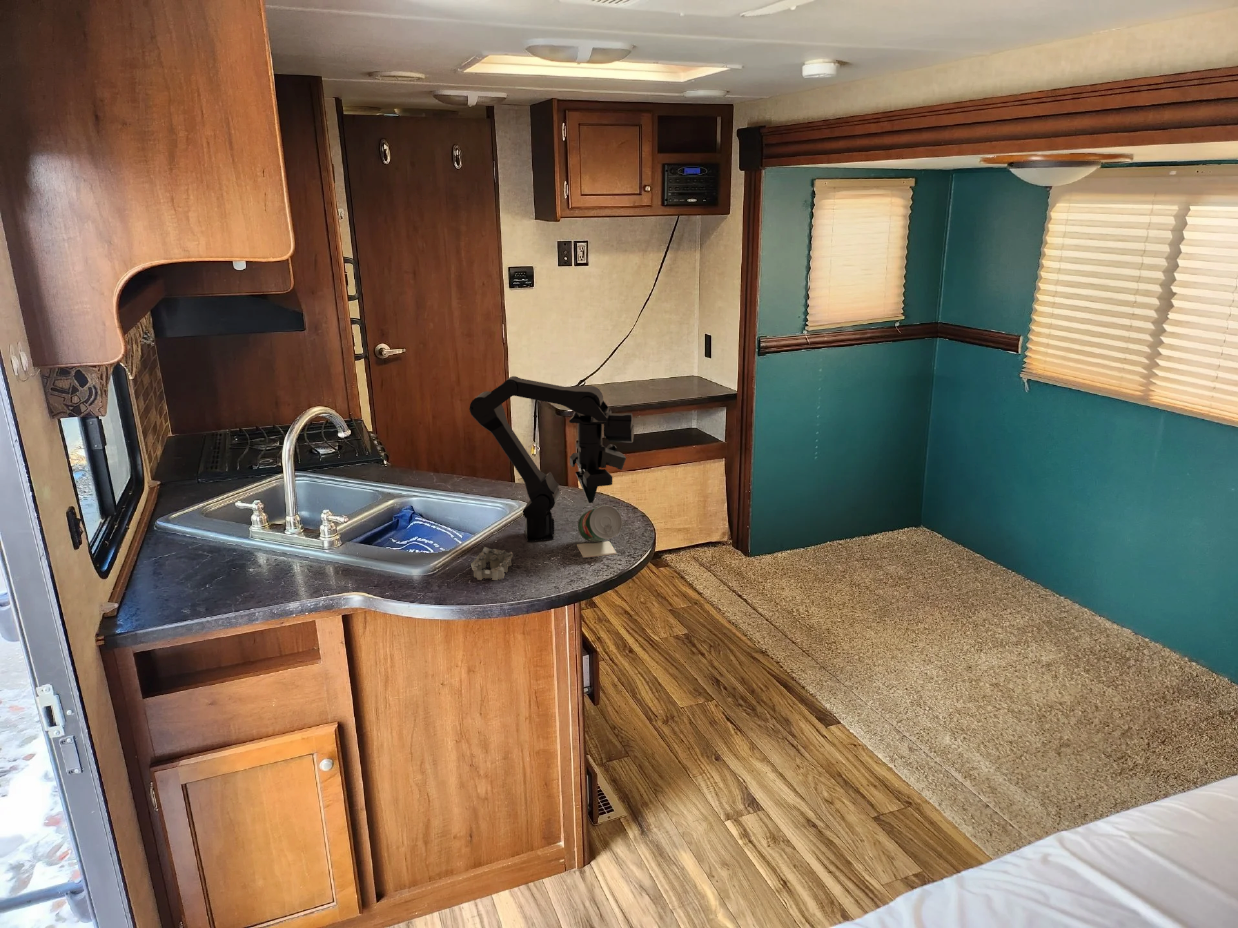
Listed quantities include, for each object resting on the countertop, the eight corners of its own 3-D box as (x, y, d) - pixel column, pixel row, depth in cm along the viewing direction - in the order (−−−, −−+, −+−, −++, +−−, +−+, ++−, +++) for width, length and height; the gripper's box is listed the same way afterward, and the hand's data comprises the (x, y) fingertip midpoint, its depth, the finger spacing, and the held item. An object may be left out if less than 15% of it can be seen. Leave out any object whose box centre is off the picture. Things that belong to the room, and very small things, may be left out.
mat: (583, 557, 194) (583, 555, 194) (577, 545, 200) (577, 544, 200) (616, 554, 196) (616, 552, 196) (609, 542, 202) (609, 541, 202)
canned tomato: (572, 517, 202) (584, 512, 192) (601, 505, 205) (614, 499, 194) (585, 547, 202) (597, 544, 191) (613, 535, 204) (627, 531, 194)
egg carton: (501, 583, 181) (500, 566, 180) (468, 580, 183) (467, 563, 181) (516, 563, 191) (515, 546, 190) (485, 560, 193) (484, 544, 191)
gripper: (634, 449, 190) (633, 512, 195) (612, 428, 207) (612, 487, 212) (586, 452, 187) (587, 517, 192) (568, 431, 204) (569, 491, 209)
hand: (590, 502), depth 201 cm, fingers closed
